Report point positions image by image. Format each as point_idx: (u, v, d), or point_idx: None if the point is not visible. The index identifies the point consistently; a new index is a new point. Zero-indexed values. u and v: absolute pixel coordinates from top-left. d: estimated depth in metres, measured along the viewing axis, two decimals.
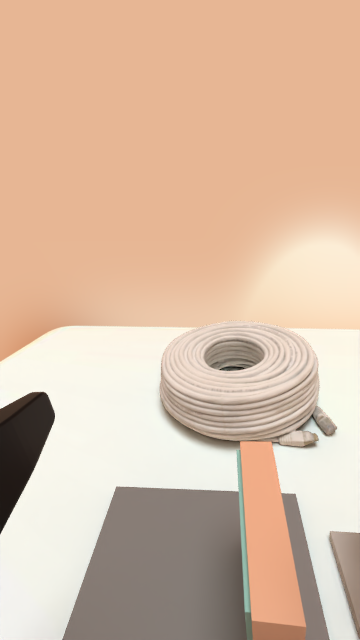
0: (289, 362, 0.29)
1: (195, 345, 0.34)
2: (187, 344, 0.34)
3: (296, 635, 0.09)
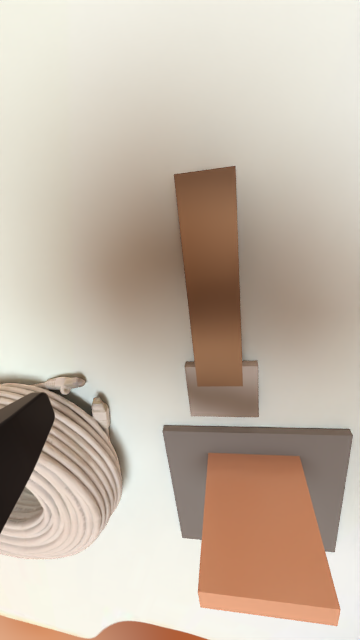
0: None
1: (1, 537, 0.25)
2: (3, 544, 0.25)
3: None
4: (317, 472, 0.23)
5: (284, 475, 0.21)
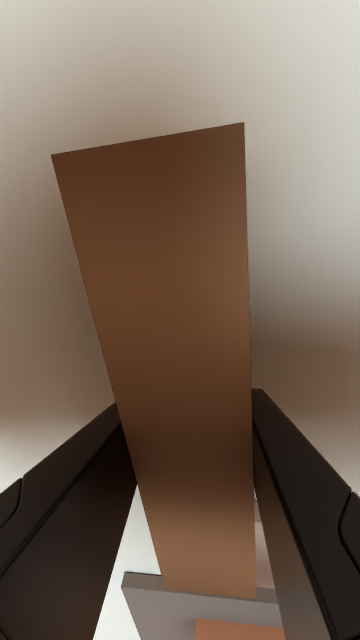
0: None
1: None
2: None
3: None
4: None
5: None
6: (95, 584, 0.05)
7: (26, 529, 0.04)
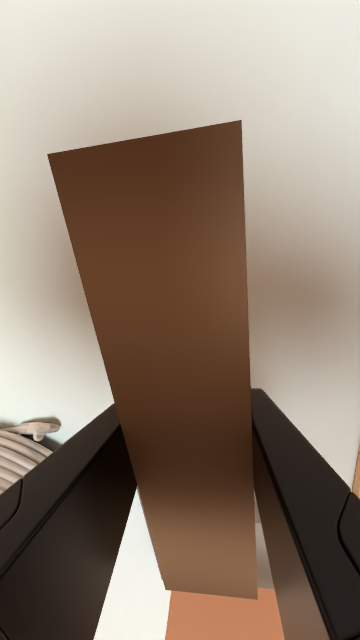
0: None
1: None
2: None
3: None
4: None
5: None
6: (96, 584, 0.05)
7: (27, 529, 0.04)
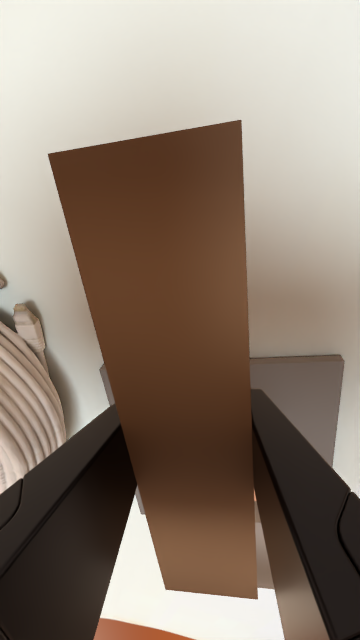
0: None
1: None
2: None
3: None
4: (299, 417, 0.17)
5: None
6: (96, 584, 0.05)
7: (27, 529, 0.04)
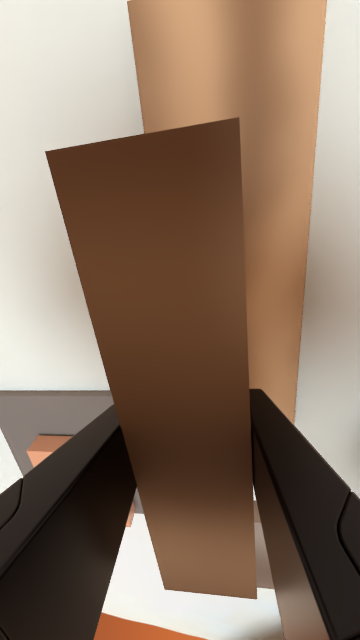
0: None
1: None
2: None
3: (130, 519, 0.26)
4: None
5: None
6: (96, 584, 0.05)
7: (27, 529, 0.04)
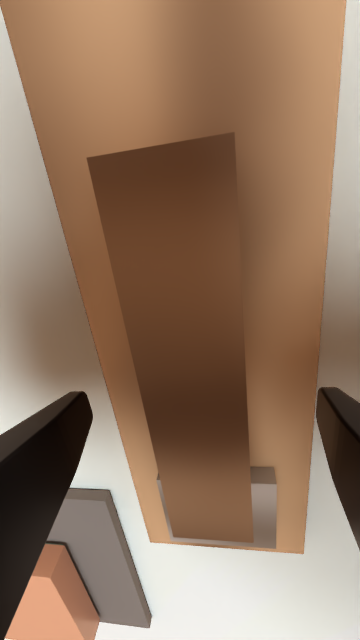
0: None
1: None
2: None
3: None
4: (86, 541, 0.17)
5: (37, 592, 0.17)
6: (13, 575, 0.06)
7: None
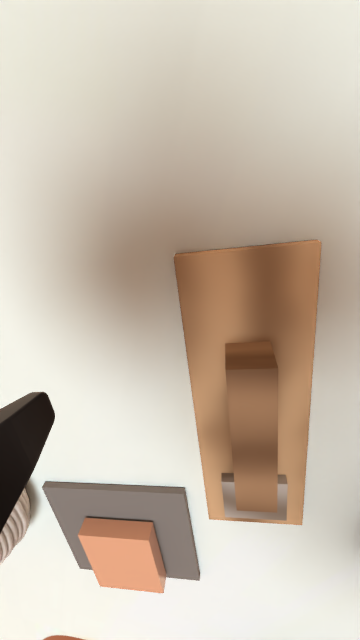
0: None
1: None
2: None
3: (163, 586, 0.30)
4: (166, 520, 0.28)
5: (137, 550, 0.27)
6: None
7: None
